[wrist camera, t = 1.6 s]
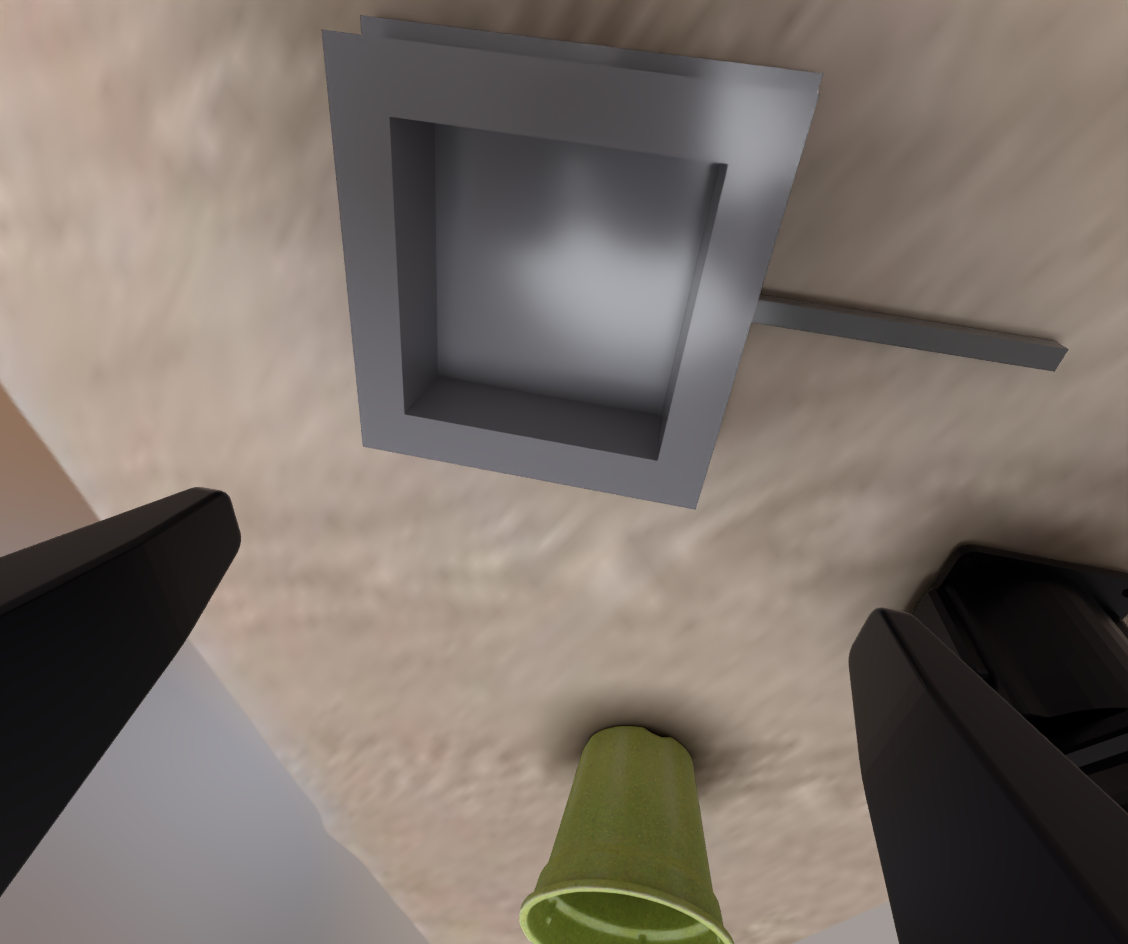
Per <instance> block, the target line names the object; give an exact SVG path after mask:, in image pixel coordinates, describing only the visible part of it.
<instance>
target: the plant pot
mask: <svg viewBox="0 0 1128 944" xmlns="http://www.w3.org/2000/svg"><path fill="white" fill-rule="evenodd" d="M519 922H520V926H521V928H522V930H523V932H524V934H525V935H526V937H527V938H528V939H529V940H530V941H531V942H532V943H533V944H734V942H733V939H732V937H731V936H730V934H729V933H728V931H727V930H726V929H725V928H724V926H723V921H722V916H721V910H720V906H719V903H718V900H717V898H716V896H715V894H714V893H713V889H712V883H711V876H710V870H709V864H708V858H707V852H706V845H705V839H704V832H703V826H702V820H701V813H700V807H699V800H698V794H697V787H696V780H695V774H694V768H693V762H692V759H691V756H690V754H689V753H688V752H687V750H686V749H685V748H684V747H683V746H682V745H681V744H680V743H679V742H677V741H676V740H674V739H673V738H671V737H659V736H657V735H655V734H652V733H651V732H649V731H648V730H646V729H645V728H643V727H636V726H618V727H612V728H608V729H605V730H602V731H600V732H598V733H596V734H594V735H593V736H592V737H591V738H590V740H589V741H588V743H587V744H586V746H585V748H584V749H583V752H582V755H581V758H580V761H579V765H578V768H577V771H576V775H575V778H574V782H573V785H572V788H571V792H570V795H569V798H568V801H567V805H566V808H565V811H564V814H563V818H562V821H561V824H560V827H559V831H558V834H557V837H556V840H555V843H554V846H553V850H552V853H551V856H550V859H549V862H548V864H547V865H546V866H545V867H544V868H543V870H542V872H541V874H540V876H539V879H538V882H537V885H536V888H535V891H534V892H533V893H531V894H530V895H528V897H527V898H526V899H525V900H524V902H523V904H522V906H521V910H520V914H519Z"/></svg>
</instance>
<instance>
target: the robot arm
mask: <svg viewBox="0 0 1128 944" xmlns="http://www.w3.org/2000/svg"><path fill="white" fill-rule="evenodd" d="M240 543H241V533H240V529H239V526H238V523H237V519H236V516H235V512H234V509H233V505H232V502H231V499H230V497H229V496H228V495H227V494H226V493H225V492H223V491H220V490H215V489H209V488H203V487H194V488H190V489H188V490H185V491H182V492H179V493H177V494H174V495H171V496H168V497H166V498H163V499H160V500H157V501H154V502H152V503H149V504H146V505H143V506H141V507H138V508H135V509H132V510H130V511H127V512H124V513H121V514H119V515H116V516H113V517H110V518H108V519H105V520H102V521H99V522H96V523H94V524H91V525H88V526H86V527H83V528H80V529H77V530H74V531H72V532H69V533H66V534H63V535H61V536H58V537H55V538H52V539H50V540H47V541H44V542H41V543H38V544H36V545H33V546H30V547H28V548H25V549H22V550H19V551H17V552H14V553H11V554H8V555H6V556H3V557H0V897H1V895H2V894H3V893H4V891H5V890H6V889H7V887H8V886H9V884H10V883H11V881H12V880H13V879H14V877H15V876H16V875H17V873H18V872H19V871H20V869H21V868H22V867H23V865H24V864H25V862H26V861H27V860H28V858H29V857H30V855H31V854H32V853H33V851H34V850H35V848H36V847H37V846H38V844H39V843H40V842H41V840H42V839H43V838H44V836H45V835H46V833H47V832H48V831H49V829H50V828H51V827H52V825H53V824H54V822H55V821H56V820H57V818H58V817H59V815H60V814H61V813H62V811H63V810H64V809H65V807H66V806H67V804H68V803H69V802H70V800H71V799H72V798H73V796H74V795H75V793H76V792H77V791H78V789H79V788H80V787H81V785H82V784H83V782H84V781H85V780H86V778H87V777H88V775H89V774H90V773H91V771H92V770H93V769H94V767H95V766H96V764H97V763H98V762H99V760H100V759H101V757H102V756H103V755H104V753H105V752H106V751H107V749H108V748H109V747H110V745H111V744H112V742H113V741H114V740H115V738H116V737H117V736H118V734H119V733H120V731H121V730H122V729H123V727H124V726H125V724H126V723H127V722H128V720H129V719H130V718H131V716H132V715H133V713H134V712H135V711H136V709H137V708H138V707H139V705H140V704H141V702H142V701H143V700H144V698H145V697H146V695H147V694H148V693H149V691H150V690H151V689H152V687H153V686H154V684H155V683H156V682H157V680H158V679H159V678H160V676H161V675H162V673H163V672H164V671H165V669H166V668H167V666H168V665H169V664H170V662H171V661H172V660H173V658H174V657H175V655H176V654H177V652H178V651H179V650H180V648H181V646H182V645H183V644H184V642H185V641H186V639H187V637H188V636H189V634H190V633H191V631H192V629H193V628H194V626H195V625H196V623H197V621H198V619H199V618H200V616H201V614H202V613H203V611H204V609H205V607H206V606H207V604H208V602H209V601H210V599H211V597H212V595H213V594H214V592H215V590H216V589H217V587H218V585H219V583H220V582H221V580H222V578H223V577H224V575H225V573H226V571H227V570H228V568H229V566H230V565H231V563H232V561H233V559H234V558H235V556H236V554H237V552H238V550H239V547H240ZM969 557H973V558H972V559H970V560H966V559H967V558H969ZM1126 588H1127V589H1126ZM1127 614H1128V574H1127V573H1121V572H1116V571H1111V570H1105V569H1100V568H1095V567H1089V566H1084V565H1079V564H1073V563H1068V562H1063V561H1057V560H1052V559H1047V558H1041V557H1036V556H1031V555H1025V554H1020V553H1015V552H1009V551H1004V550H999V549H993V548H988V547H983V546H977V545H965V546H961V547H959V548H957V549H956V550H955V551H954V552H953V554H952V555H951V557H950V558H949V560H948V562H947V563H946V565H945V566H944V568H943V569H942V571H941V572H940V574H939V575H938V577H937V579H936V580H935V582H934V583H933V585H932V586H931V588H930V589H929V590H928V591H927V592H926V593H925V595H924V596H923V598H922V599H921V601H920V602H919V604H918V606H917V607H916V609H915V610H914V612H913V613H912V614H910V613H908V612H904V611H898V610H893V609H887V608H877V609H875V610H873V611H872V612H871V614H870V615H869V617H868V618H867V620H866V622H865V624H864V625H863V627H862V629H861V631H860V632H859V634H858V636H857V638H856V640H855V641H854V643H853V645H852V647H851V650H850V653H849V672H850V681H851V690H852V699H853V708H854V717H855V726H856V734H857V743H858V752H859V760H860V767H861V774H862V780H863V785H864V790H865V795H866V800H867V804H868V809H869V813H870V817H871V822H872V826H873V831H874V835H875V839H876V844H877V848H878V853H879V857H880V862H881V866H882V870H883V875H884V879H885V884H886V888H887V892H888V897H889V901H890V906H891V910H892V914H893V919H894V923H895V928H896V932H897V936H898V941H899V944H1128V626H1127V625H1126V624H1125V623H1124V621H1123V620H1122V619H1123V618H1124V617H1125V616H1126V615H1127Z"/></svg>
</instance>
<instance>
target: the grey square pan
mask: <svg viewBox="0 0 1128 944" xmlns="http://www.w3.org/2000/svg"><path fill="white" fill-rule="evenodd" d="M360 19H361V34H362V35H359V34H352V33H344V32H336V31H328V30H322V39H323V49H324V59H325V69H326V79H327V89H328V100H329V110H330V120H331V130H332V140H333V150H334V160H335V170H336V180H337V190H338V200H339V210H340V221H341V231H342V241H343V251H344V261H345V271H346V281H347V291H348V301H349V311H350V321H351V332H352V342H353V352H354V362H355V372H356V382H357V392H358V402H359V412H360V422H361V432H362V442H363V447H368V448H374V449H379V450H384V451H389V452H395V453H400V454H405V455H410V456H416V457H421V458H426V459H432V460H437V461H442V462H447V463H453V464H458V465H463V466H468V467H474V468H479V469H484V470H490V471H495V472H500V473H505V474H511V475H516V476H521V477H526V478H532V479H537V480H542V481H548V482H553V483H558V484H563V485H569V486H574V487H579V488H584V489H590V490H595V491H600V492H606V493H611V494H616V495H621V496H627V497H632V498H637V499H642V500H648V501H653V502H658V503H664V504H669V505H674V506H679V507H685V508H690V509H695V510H696V506H697V503H698V500H699V496H700V493H701V490H702V486H703V483H704V480H705V476H706V473H707V470H708V466H709V463H710V460H711V456H712V453H713V450H714V446H715V443H716V439H717V436H718V433H719V429H720V426H721V423H722V419H723V416H724V413H725V409H726V406H727V403H728V399H729V396H730V393H731V389H732V386H733V383H734V379H735V376H736V372H737V369H738V366H739V362H740V359H741V356H742V352H743V349H744V346H745V342H746V339H747V336H748V332H749V329H750V326H751V322H752V323H758V324H764V325H770V326H777V327H783V328H789V329H795V330H801V331H807V332H814V333H820V334H826V335H832V336H838V337H844V338H851V339H857V340H863V341H869V342H875V343H881V344H888V345H894V346H900V347H906V348H912V349H919V350H925V351H931V352H937V353H943V354H949V355H956V356H962V357H968V358H974V359H980V360H986V361H993V362H999V363H1005V364H1011V365H1017V366H1024V367H1030V368H1036V369H1042V370H1048V371H1054V372H1055V370H1056V369H1057V367H1058V365H1059V364H1060V362H1061V361H1062V359H1063V357H1064V356H1065V354H1066V353H1067V351H1068V349H1067V348H1066V347H1064V346H1063V345H1061V344H1060V343H1058V342H1057V341H1053V340H1047V339H1041V338H1034V337H1028V336H1022V335H1015V334H1009V333H1002V332H996V331H990V330H983V329H977V328H971V327H964V326H958V325H952V324H945V323H939V322H933V321H926V320H920V319H914V318H907V317H901V316H895V315H888V314H882V313H876V312H869V311H863V310H857V309H850V308H844V307H838V306H831V305H825V304H819V303H812V302H806V301H800V300H793V299H787V298H781V297H774V296H768V295H762V294H760V292H761V289H762V285H763V282H764V279H765V275H766V272H767V269H768V265H769V262H770V259H771V255H772V252H773V248H774V245H775V242H776V238H777V235H778V232H779V228H780V225H781V222H782V218H783V215H784V212H785V208H786V205H787V202H788V198H789V195H790V192H791V188H792V185H793V181H794V178H795V175H796V171H797V168H798V165H799V161H800V158H801V155H802V151H803V148H804V145H805V141H806V138H807V135H808V131H809V128H810V125H811V121H812V118H813V114H814V111H815V108H816V104H817V101H818V98H819V94H818V90H819V86H820V83H821V80H822V76H823V73H816V72H808V71H800V70H792V69H784V68H776V67H768V66H760V65H752V64H744V63H736V62H728V61H720V60H712V59H704V58H696V57H688V56H680V55H673V54H665V53H657V52H649V51H641V50H633V49H625V48H617V47H609V46H601V45H593V44H585V43H577V42H569V41H561V40H553V39H545V38H537V37H529V36H521V35H513V34H506V33H498V32H490V31H482V30H474V29H466V28H458V27H450V26H442V25H434V24H426V23H418V22H410V21H402V20H394V19H386V18H378V17H370V16H362V15H360Z"/></svg>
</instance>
